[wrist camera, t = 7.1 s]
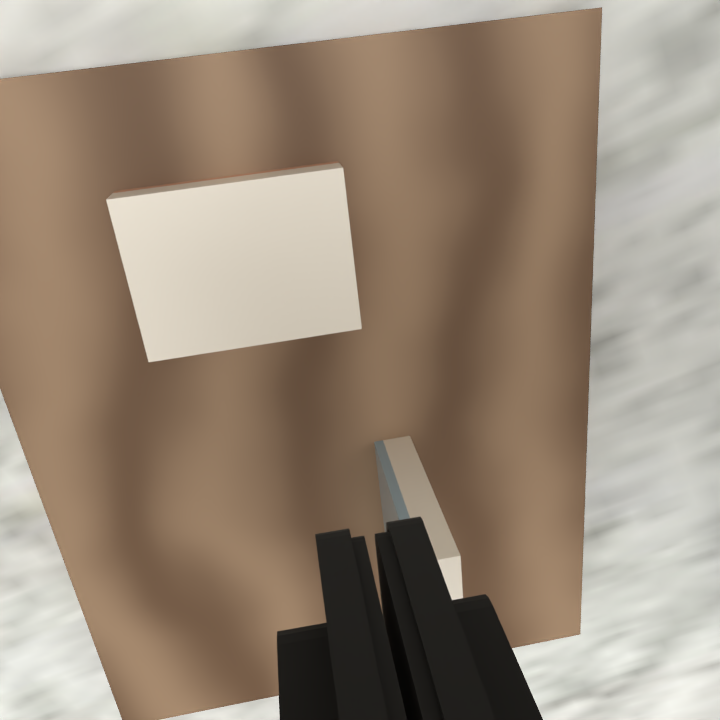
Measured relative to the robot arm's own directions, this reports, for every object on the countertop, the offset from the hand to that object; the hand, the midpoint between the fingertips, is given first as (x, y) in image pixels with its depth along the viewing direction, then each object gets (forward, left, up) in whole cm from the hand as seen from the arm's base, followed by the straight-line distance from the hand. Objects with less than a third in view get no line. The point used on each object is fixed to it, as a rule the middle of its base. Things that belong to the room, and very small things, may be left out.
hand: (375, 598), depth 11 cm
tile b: (-3, +11, -17) cm, 21 cm away
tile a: (-2, -1, -17) cm, 17 cm away
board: (0, +7, -19) cm, 20 cm away
